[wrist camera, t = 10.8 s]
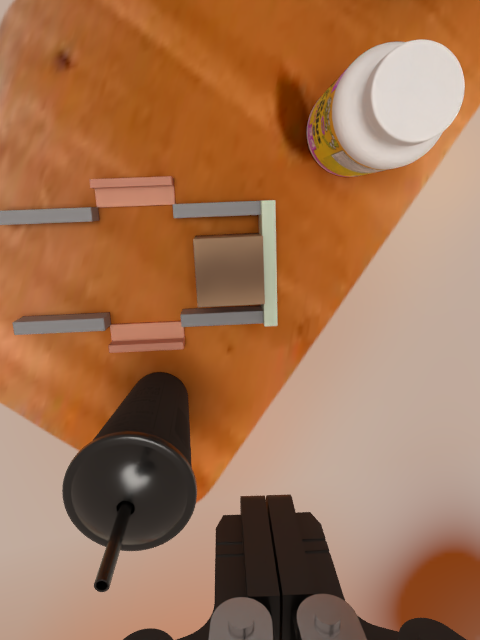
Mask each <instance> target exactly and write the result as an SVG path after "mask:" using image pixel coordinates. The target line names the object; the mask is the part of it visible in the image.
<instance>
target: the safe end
mask: <svg viewBox="0 0 480 640" xmlns="http://www.w3.org/2000/svg"><path fill="white" fill-rule="evenodd" d="M260 208H261V215H259V234H261V235H262V236H263V256H264V290H265V304H261V307H262V309H263V323H264V326H278V324H277V268H276V211H275V200H266V201H260Z"/></svg>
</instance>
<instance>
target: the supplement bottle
mask: <svg viewBox="0 0 480 640" xmlns="http://www.w3.org/2000/svg"><path fill="white" fill-rule="evenodd" d="M464 89H465V84H464V75H463V72H462V68H461V66H460V63H459V61H458V60H457V58H456V57H455V55H454V54H453V53H452V52H451V51H450V50H449V49H448V48H446V47H445V46H444V45H442V44H440V43H437V42H435V41H431V40H422V39H421V40H413V41H409V42H388V43H384V44H380V45H377V46H375V47H373V48H371V49H369V50H367V51H366V52H364V53H363V54H362V55H360V56H359V57H358V58H357V59H356V60H355V61H354V62H353V63H352V64H351V65H350V66H349V67H348V68H347V69H346V70H345V71H344V72H343V73H342V75H341V76H340V77H339V78H338V79H337V80H336V81H335V82H334V83H333V84H332V85H331V86H330V87H329V88H328V89H327V90H326V92H325V93H324V94H323V95H322V96H321V97H320V98H319V100H318V101H317V102H316V104H315V105H314V107H313V109H312V111H311V113H310V116H309V120H308V124H307V141H308V146H309V149H310V151H311V154H312V156H313V157H314V159H315V160H316V162H317V163H318V164H319V165H320V166H321V167H322V168H323V169H325V170H326V171H328V172H330V173H332V174H334V175H338V176H342V177H355V176H361V175H365V174H370V173H375V172H379V171H384V170H389V169H394V168H398V167H402V166H405V165H408V164H410V163H412V162H414V161H416V160H417V159H419V158H420V157H422V156H423V155H425V154H426V153H427V152H428V151H429V150H430V149H431V148H432V147H433V146H434V145H435V143H436V142H437V141H438V139H439V138H440V136H441V134H442V133H443V131H444V130H445V129H446V128H447V127H448V126H449V125H450V124H451V123H452V122H453V120H454V119H455V117H456V116H457V114H458V112H459V110H460V107H461V105H462V101H463V97H464Z"/></svg>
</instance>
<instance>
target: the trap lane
mask: <svg viewBox="0 0 480 640" xmlns="http://www.w3.org/2000/svg"><path fill="white" fill-rule="evenodd" d="M89 180H90V188H95V195H96V204H97V207H88V208H62V209H36V210H10V211H0V225H12V224H37V223H63V222H88V221H99V213H98V207H122V206H148V205H173V216H174V218H189V217H215V216H240V215H261V208H260V201H244V202H218V203H192V204H175V194H174V179H173V177H172V176H168V177H140V178H113V179H89ZM256 323H263V309H262V307H261V306H240V307H218V308H196V309H183V310H182V312H181V321H169V322H148V323H126V324H111V320H110V312H109V313H88V314H66V315H44V316H23V317H22V318H20V319H18V320H16V321H14V322H13V328H14V334H15V335H23V334H44V333H65V332H87V331H105V330H106V329H107V328H108V327H109V326H110V329H111V338H112V342H111V343H110V344H109V353H116V352H137V351H157V350H178V349H184V346H185V335H184V327H192V326H214V325H235V324H256Z"/></svg>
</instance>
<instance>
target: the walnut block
mask: <svg viewBox="0 0 480 640" xmlns="http://www.w3.org/2000/svg"><path fill="white" fill-rule="evenodd" d="M193 244H194V259H195V274H196V289H197V304H198V307H216V306H236V305H255V304H265V290H264V256H263V236H262V235H261V234H259V233H245V234H223V235H201V236H195V238H194V239H193Z"/></svg>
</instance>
